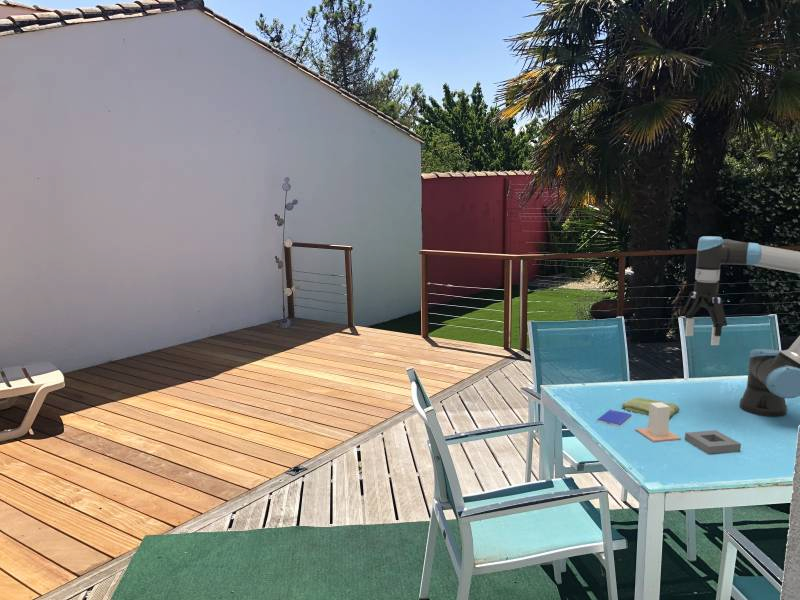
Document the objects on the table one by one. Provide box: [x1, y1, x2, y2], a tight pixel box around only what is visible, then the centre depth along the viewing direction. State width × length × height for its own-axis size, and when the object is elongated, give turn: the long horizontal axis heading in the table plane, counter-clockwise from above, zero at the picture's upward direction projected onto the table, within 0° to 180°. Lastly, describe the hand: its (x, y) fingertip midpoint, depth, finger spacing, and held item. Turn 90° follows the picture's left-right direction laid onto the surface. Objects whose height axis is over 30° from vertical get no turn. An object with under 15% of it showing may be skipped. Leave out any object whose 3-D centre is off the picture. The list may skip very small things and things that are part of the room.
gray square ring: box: [684, 429, 742, 455], centre depth 192 cm, size 11×11×2 cm
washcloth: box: [621, 397, 680, 419], centre depth 223 cm, size 13×18×3 cm
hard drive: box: [596, 409, 633, 428], centre depth 215 cm, size 2×8×12 cm
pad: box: [635, 427, 681, 443], centre depth 200 cm, size 10×10×1 cm
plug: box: [647, 401, 670, 436], centre depth 199 cm, size 4×4×10 cm
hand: (701, 340), depth 211 cm, fingers open, 13 cm apart
